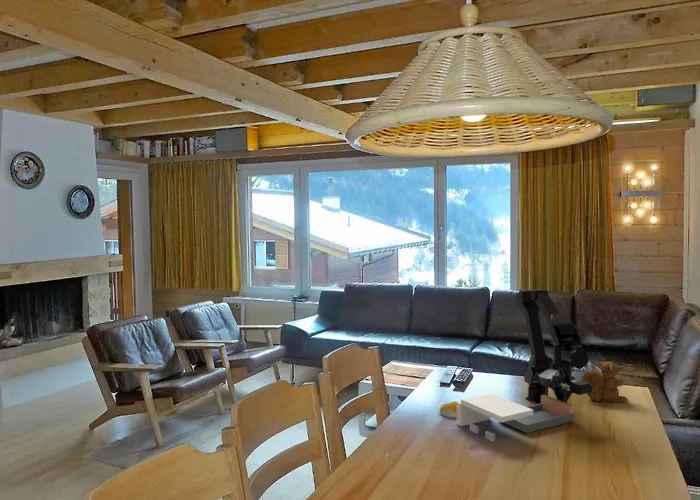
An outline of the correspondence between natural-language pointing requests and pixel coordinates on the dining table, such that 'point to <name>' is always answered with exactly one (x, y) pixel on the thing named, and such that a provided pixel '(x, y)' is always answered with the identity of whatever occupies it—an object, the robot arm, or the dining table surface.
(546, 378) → the robot arm
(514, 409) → the overhang shelf
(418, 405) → the dining table surface
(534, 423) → the tray
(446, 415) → the bread roll
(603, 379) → the stuffed squirrel
